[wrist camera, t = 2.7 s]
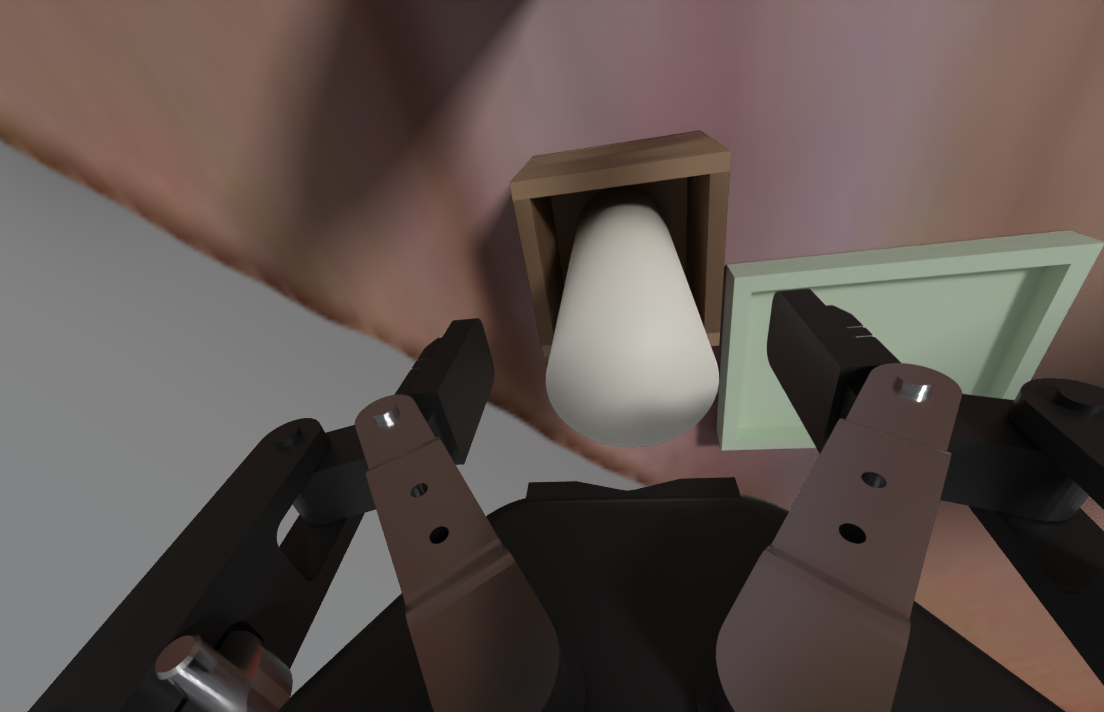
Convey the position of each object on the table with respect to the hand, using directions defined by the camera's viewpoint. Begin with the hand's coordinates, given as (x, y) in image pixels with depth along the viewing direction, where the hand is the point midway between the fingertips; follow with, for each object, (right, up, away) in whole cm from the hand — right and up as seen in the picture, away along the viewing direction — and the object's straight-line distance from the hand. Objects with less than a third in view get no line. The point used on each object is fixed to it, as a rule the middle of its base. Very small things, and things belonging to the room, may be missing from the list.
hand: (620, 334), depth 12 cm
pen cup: (+1, +6, +8) cm, 10 cm away
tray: (+14, 0, +11) cm, 18 cm away
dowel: (+1, +5, +8) cm, 10 cm away
